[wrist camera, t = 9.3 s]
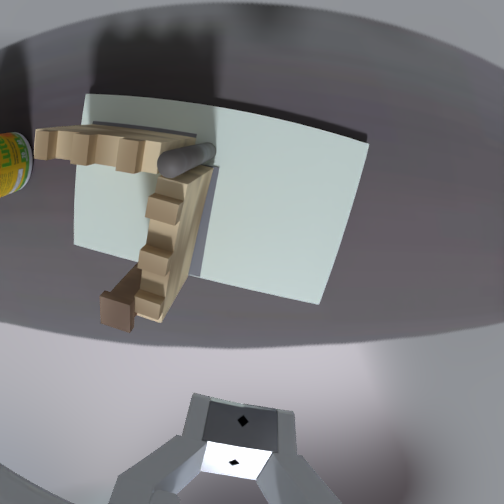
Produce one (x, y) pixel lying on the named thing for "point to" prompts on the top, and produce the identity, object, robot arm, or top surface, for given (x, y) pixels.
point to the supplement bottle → (14, 162)
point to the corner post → (121, 302)
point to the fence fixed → (122, 148)
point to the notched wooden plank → (170, 239)
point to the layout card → (231, 194)
